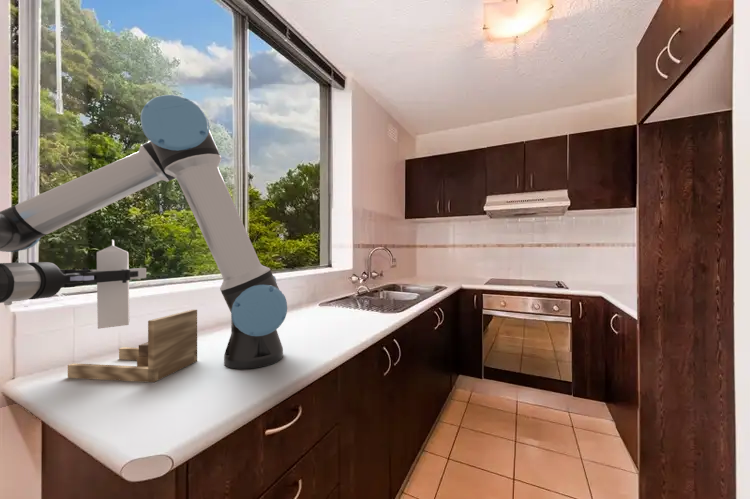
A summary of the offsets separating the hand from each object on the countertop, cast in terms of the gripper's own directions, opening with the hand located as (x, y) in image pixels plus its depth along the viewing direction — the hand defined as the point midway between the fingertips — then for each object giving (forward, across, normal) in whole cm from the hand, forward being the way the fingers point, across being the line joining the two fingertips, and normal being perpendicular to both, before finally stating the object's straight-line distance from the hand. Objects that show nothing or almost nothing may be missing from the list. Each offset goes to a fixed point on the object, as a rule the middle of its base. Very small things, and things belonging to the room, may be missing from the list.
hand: (130, 273), depth 84 cm
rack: (-5, +6, -24) cm, 25 cm away
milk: (-5, 0, -13) cm, 14 cm away
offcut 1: (-5, +12, -20) cm, 24 cm away
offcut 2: (-5, +12, -22) cm, 26 cm away
